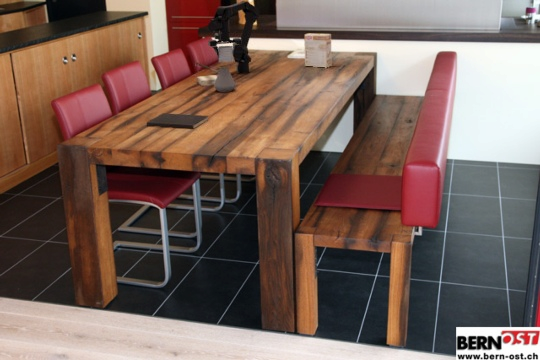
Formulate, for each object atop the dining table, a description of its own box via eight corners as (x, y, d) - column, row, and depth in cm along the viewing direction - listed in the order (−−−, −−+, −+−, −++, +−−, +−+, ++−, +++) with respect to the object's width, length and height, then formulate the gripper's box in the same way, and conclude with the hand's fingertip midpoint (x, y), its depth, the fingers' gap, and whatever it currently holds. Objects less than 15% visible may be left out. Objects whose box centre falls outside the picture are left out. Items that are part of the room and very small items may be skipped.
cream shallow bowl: (217, 80, 399) (217, 74, 398) (222, 84, 388) (222, 78, 387) (197, 82, 396) (196, 76, 395) (201, 86, 385) (201, 80, 384)
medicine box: (233, 60, 405) (232, 45, 402) (232, 62, 401) (231, 47, 398) (219, 61, 406) (219, 45, 403) (218, 62, 402) (217, 47, 399)
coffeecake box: (331, 66, 424) (331, 33, 418) (326, 68, 419) (326, 35, 412) (310, 64, 432) (309, 32, 426) (304, 66, 427) (303, 34, 420)
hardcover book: (163, 118, 325) (163, 113, 324) (208, 120, 318) (208, 115, 317) (146, 127, 311) (146, 122, 310) (193, 130, 304) (193, 125, 303)
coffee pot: (238, 88, 377) (236, 60, 372) (233, 93, 366) (231, 64, 361) (200, 87, 381) (198, 60, 376) (193, 92, 371) (191, 64, 366)
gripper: (236, 26, 407) (238, 53, 412) (205, 29, 402) (206, 56, 407) (241, 29, 397) (242, 56, 402) (209, 31, 392) (211, 59, 397)
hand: (225, 57), depth 402 cm, fingers closed on medicine box, 9 cm apart
